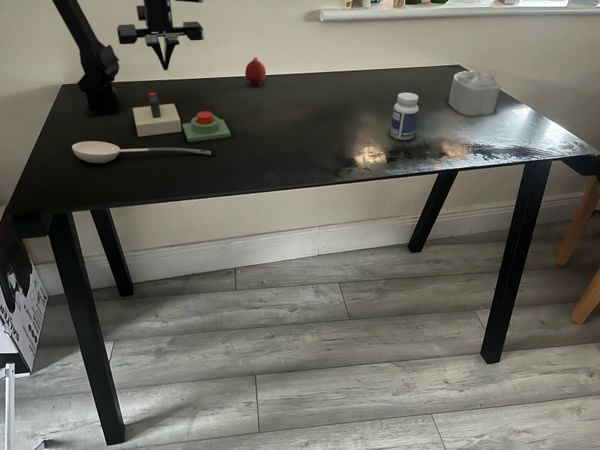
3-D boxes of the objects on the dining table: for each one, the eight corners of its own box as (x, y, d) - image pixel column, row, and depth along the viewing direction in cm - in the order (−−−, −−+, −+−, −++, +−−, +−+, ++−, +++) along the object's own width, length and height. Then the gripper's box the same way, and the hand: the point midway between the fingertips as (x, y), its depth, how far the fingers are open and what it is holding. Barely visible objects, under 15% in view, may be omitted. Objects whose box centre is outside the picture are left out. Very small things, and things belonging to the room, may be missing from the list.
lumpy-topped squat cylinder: (463, 116, 128) (471, 84, 123) (440, 97, 138) (446, 67, 133) (498, 113, 130) (507, 81, 125) (473, 95, 140) (480, 65, 135)
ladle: (75, 153, 105) (74, 132, 103) (208, 164, 112) (210, 145, 110) (70, 166, 100) (68, 145, 98) (209, 177, 108) (211, 157, 105)
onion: (265, 89, 139) (264, 61, 135) (244, 88, 139) (243, 60, 135) (266, 81, 144) (266, 54, 139) (246, 81, 144) (245, 53, 139)
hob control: (138, 136, 114) (135, 124, 112) (134, 119, 121) (132, 107, 119) (181, 131, 117) (180, 119, 115) (175, 114, 124) (174, 102, 122)
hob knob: (161, 117, 115) (158, 100, 113) (153, 118, 115) (150, 101, 112) (158, 109, 119) (155, 92, 117) (150, 109, 119) (148, 93, 116)
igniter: (188, 142, 112) (186, 130, 110) (182, 127, 118) (181, 116, 116) (230, 136, 115) (230, 125, 113) (223, 122, 121) (222, 111, 119)
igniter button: (199, 126, 113) (198, 118, 112) (196, 119, 116) (195, 112, 115) (214, 124, 114) (213, 116, 113) (211, 118, 117) (210, 110, 116)
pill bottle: (415, 132, 120) (422, 93, 114) (411, 142, 115) (419, 102, 109) (392, 128, 121) (398, 89, 115) (387, 138, 117) (393, 98, 111)
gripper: (193, -10, 116) (199, 56, 125) (110, -8, 111) (122, 61, 120) (201, 1, 108) (207, 71, 117) (112, 4, 102) (125, 77, 112)
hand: (165, 69), depth 117 cm, fingers closed
